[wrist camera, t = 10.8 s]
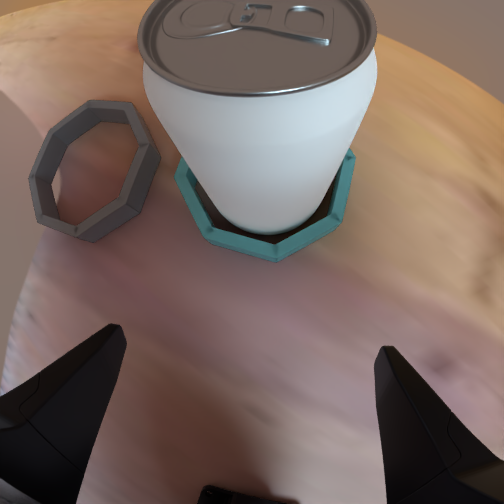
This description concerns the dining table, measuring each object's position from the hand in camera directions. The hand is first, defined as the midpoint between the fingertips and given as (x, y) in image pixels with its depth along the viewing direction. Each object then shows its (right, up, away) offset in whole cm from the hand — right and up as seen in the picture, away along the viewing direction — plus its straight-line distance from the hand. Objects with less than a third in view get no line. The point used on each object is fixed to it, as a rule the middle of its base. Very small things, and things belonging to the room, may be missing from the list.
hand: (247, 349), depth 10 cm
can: (+1, +7, +8) cm, 10 cm away
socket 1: (-10, +8, +8) cm, 16 cm away
